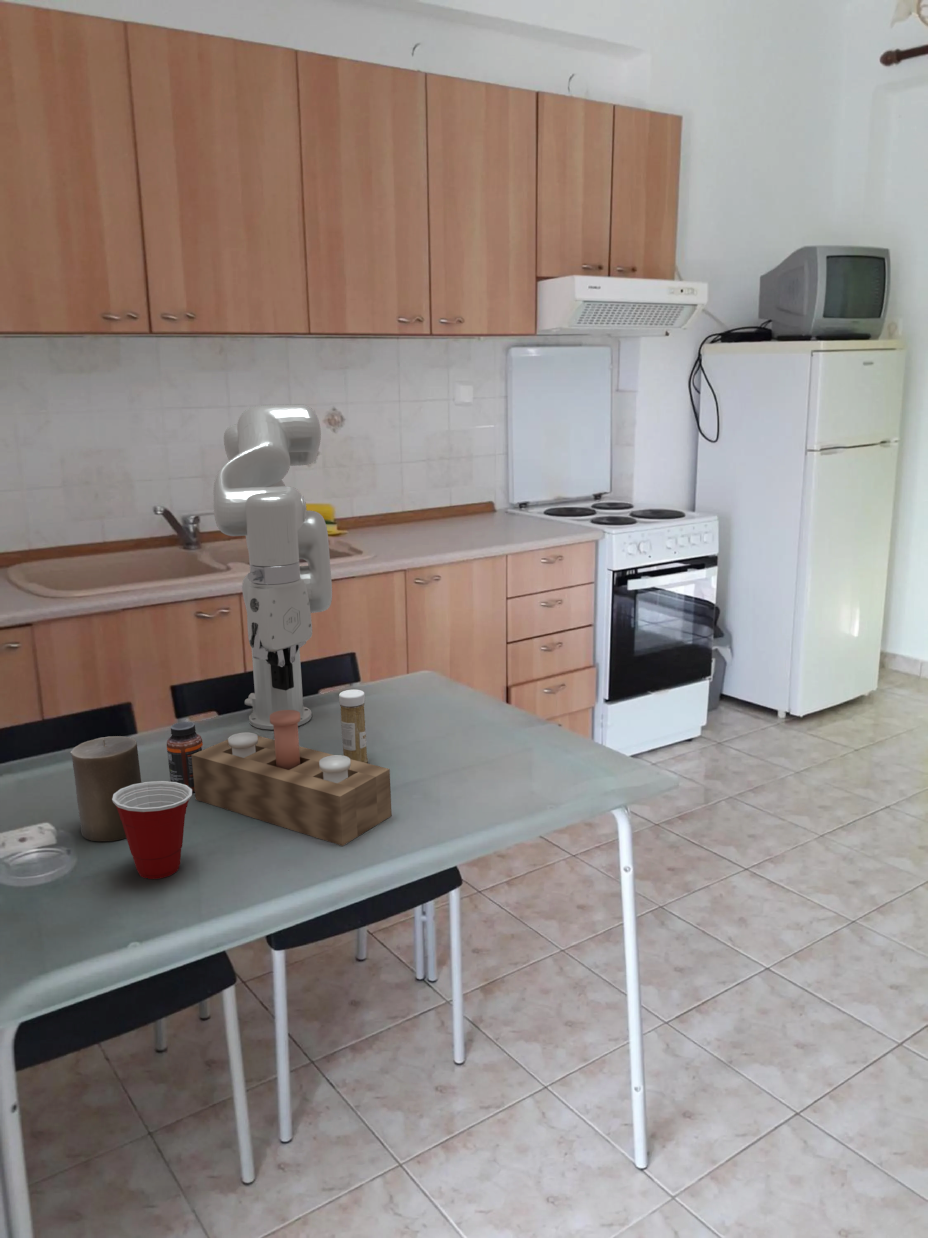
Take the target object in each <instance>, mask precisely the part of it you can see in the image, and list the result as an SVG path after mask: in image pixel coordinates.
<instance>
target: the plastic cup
mask: <svg viewBox="0 0 928 1238" xmlns="http://www.w3.org/2000/svg"><path fill="white" fill-rule="evenodd" d="M192 797H193V792H192V789H191V788H189V787H188V786H187V785H184V784H181V783H177V782H171V781H167V780H166V781H165V780H158V781H157V780H156V781H145V782H142V783H139V784H133V785H130V786H127V787H125V788H122V789H120V790H119V791H117V792H116V793H114V794H113V798H112V801H113V803H114V804H115V805H116V807H117V810H118V813H119V815H120V819H121V821H122V824H123V827H124V831H125V834H126V838H125V839H126V841H127V844H128V847H129V851H130V855H132V858H133V862H134V865H135V868H136V871H137V873H138V875H139V876H140V877H141V878H144V879H146V878H148V880H156V879H164V878H167V877H170V876H172V875H173V874H175V873H177V871H178V870H179V869H180V865H181V860H182V859H181V856H182V848H183V842H184V840H183V839H184V829H185V828H184V827H185V820H186V819H185V818H186V814H187V808H188V804H189V801H190V799H191V798H192Z"/></svg>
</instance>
